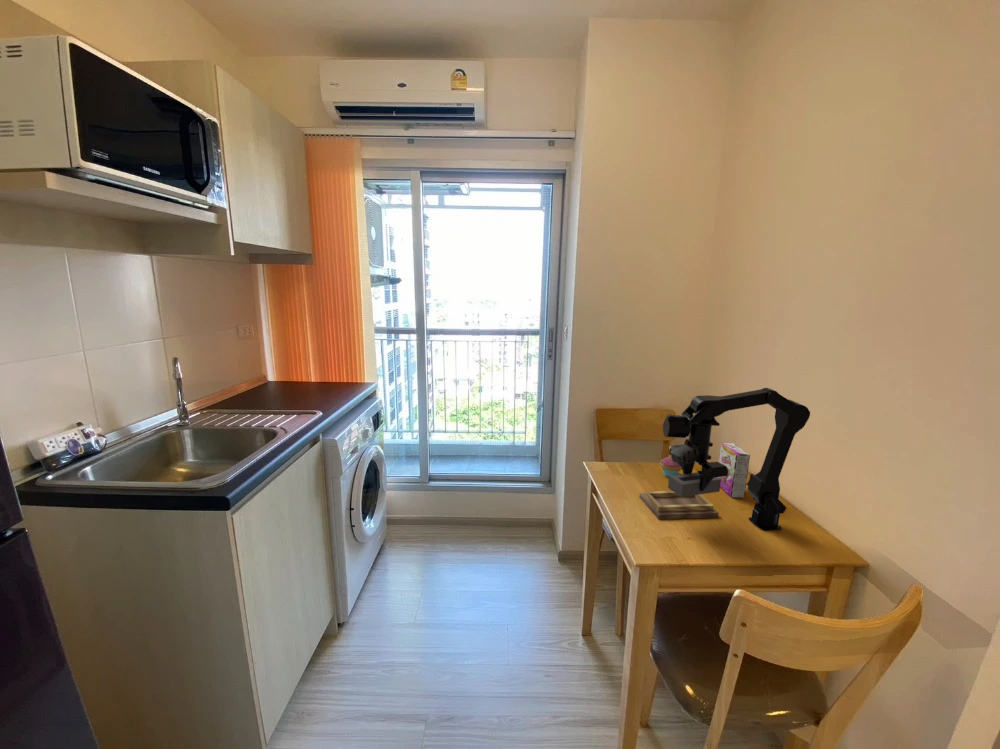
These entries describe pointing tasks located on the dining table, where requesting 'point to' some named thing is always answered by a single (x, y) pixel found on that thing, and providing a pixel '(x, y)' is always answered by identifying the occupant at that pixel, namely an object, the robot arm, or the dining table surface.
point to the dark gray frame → (691, 484)
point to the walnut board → (677, 505)
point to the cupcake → (670, 466)
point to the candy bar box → (734, 469)
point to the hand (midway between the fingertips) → (694, 486)
